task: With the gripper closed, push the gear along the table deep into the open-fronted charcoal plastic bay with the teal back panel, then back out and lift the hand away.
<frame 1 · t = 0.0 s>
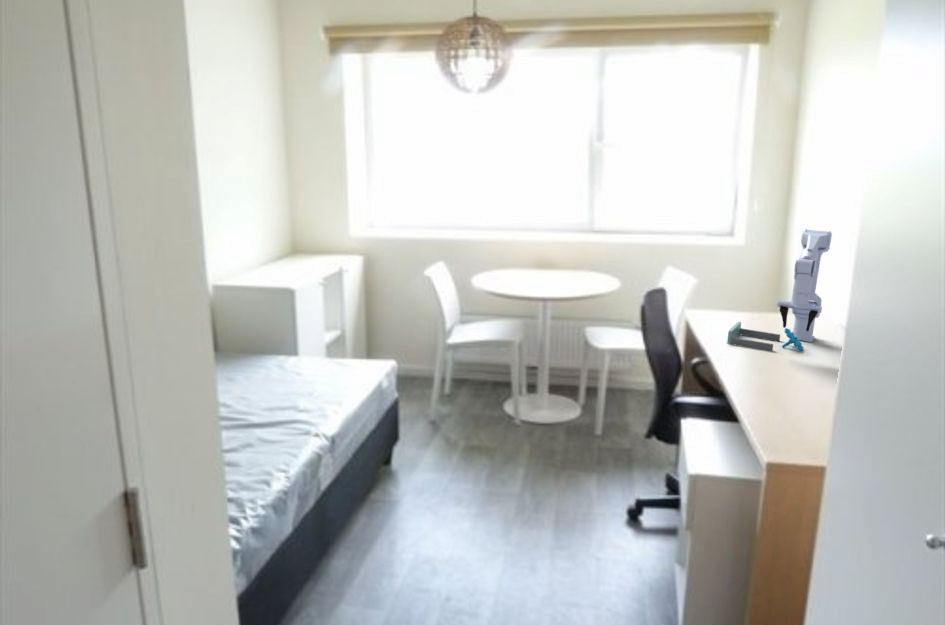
hand: (795, 328, 252), 10 cm above the table, tool pointing down, fingers open, 7 cm apart
gear: (792, 349, 263), on the table
bay: (753, 342, 270), on the table
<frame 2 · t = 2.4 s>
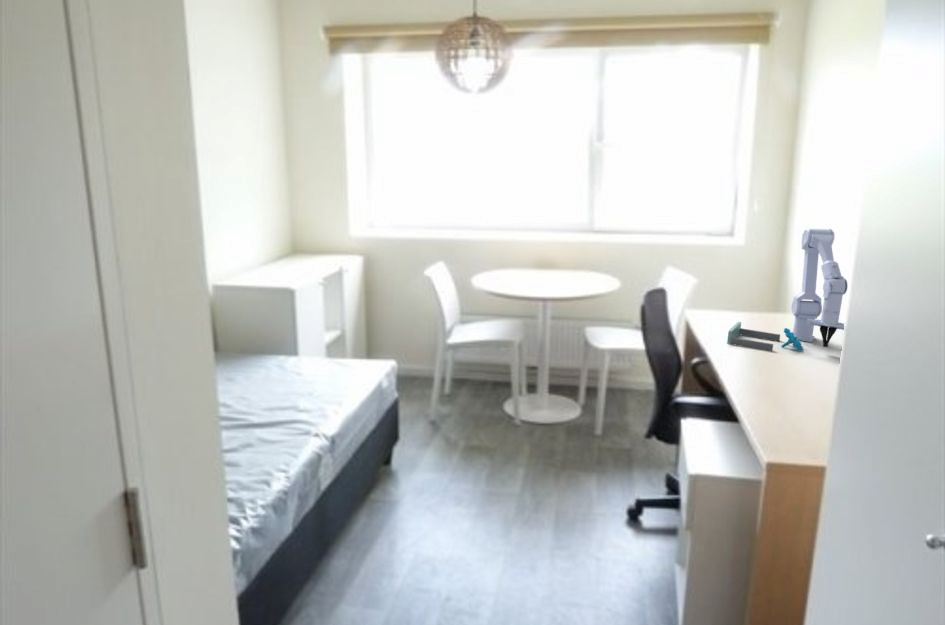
hand: (825, 346, 257), 3 cm above the table, tool pointing down, fingers closed
nothing on the table moved.
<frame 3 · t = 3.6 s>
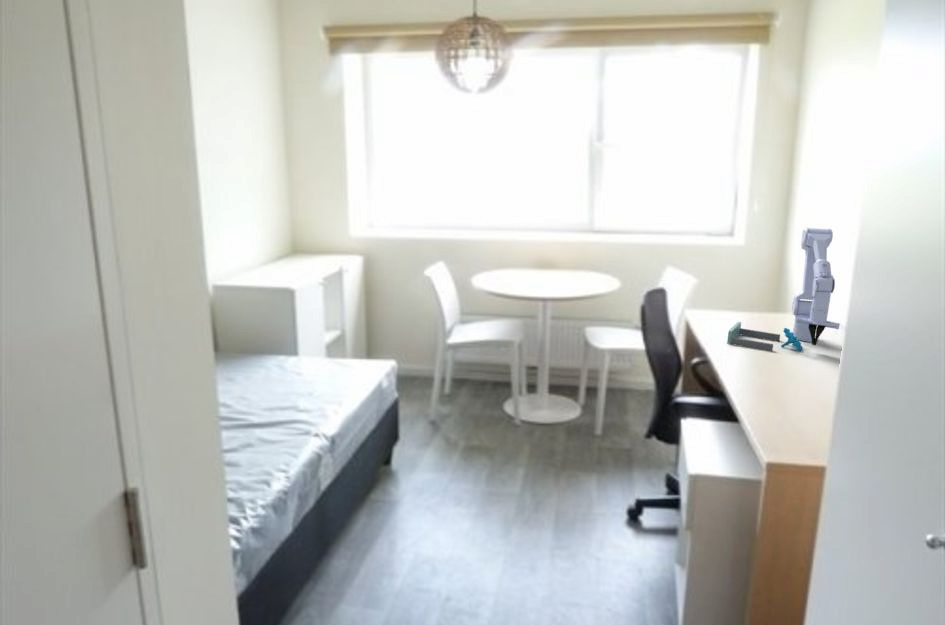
hand: (814, 344, 259), 3 cm above the table, tool pointing down, fingers closed
nothing on the table moved.
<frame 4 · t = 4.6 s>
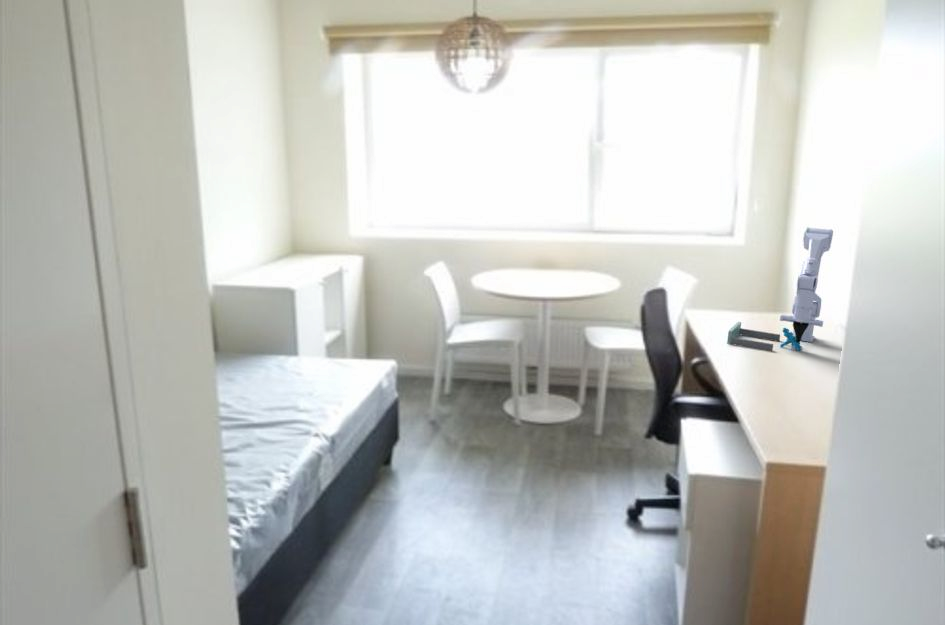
hand: (798, 341, 262), 3 cm above the table, tool pointing down, fingers closed
gear: (790, 348, 263), on the table, touching gripper
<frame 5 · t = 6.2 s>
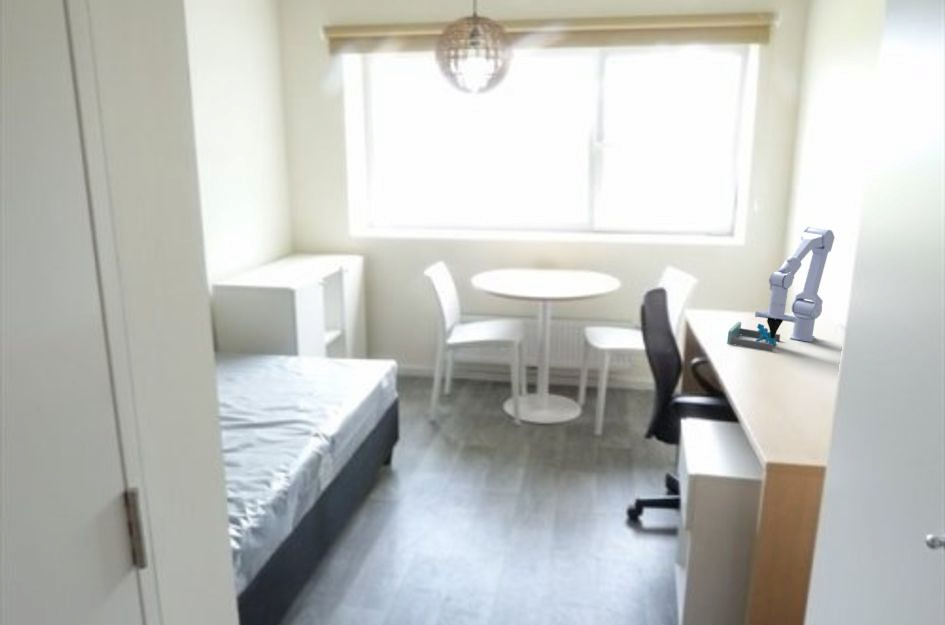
hand: (772, 337, 266), 3 cm above the table, tool pointing down, fingers closed
gear: (765, 344, 268), on the table, touching gripper
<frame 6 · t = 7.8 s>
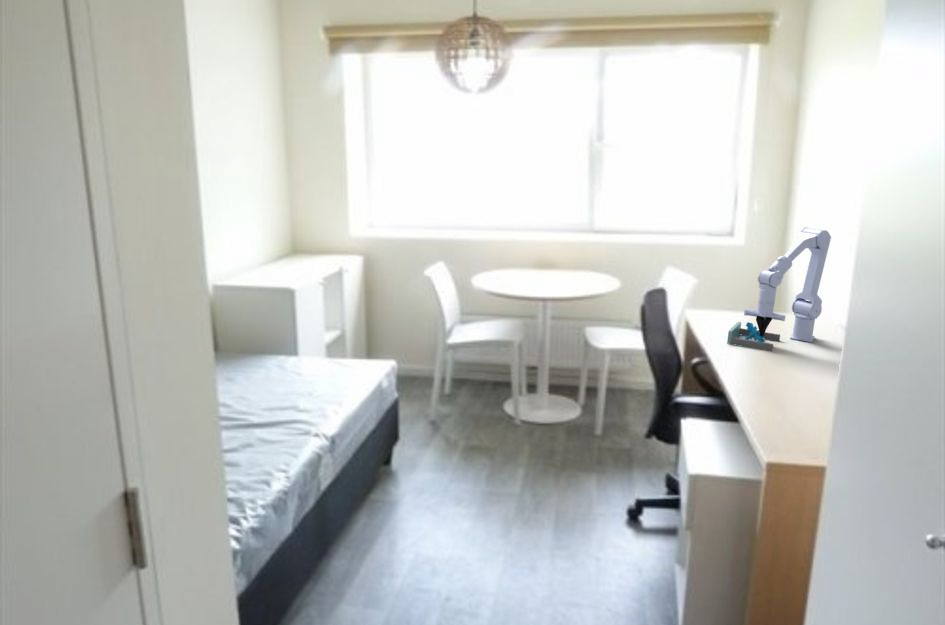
hand: (761, 335, 268), 3 cm above the table, tool pointing down, fingers closed
gear: (754, 342, 270), on the table
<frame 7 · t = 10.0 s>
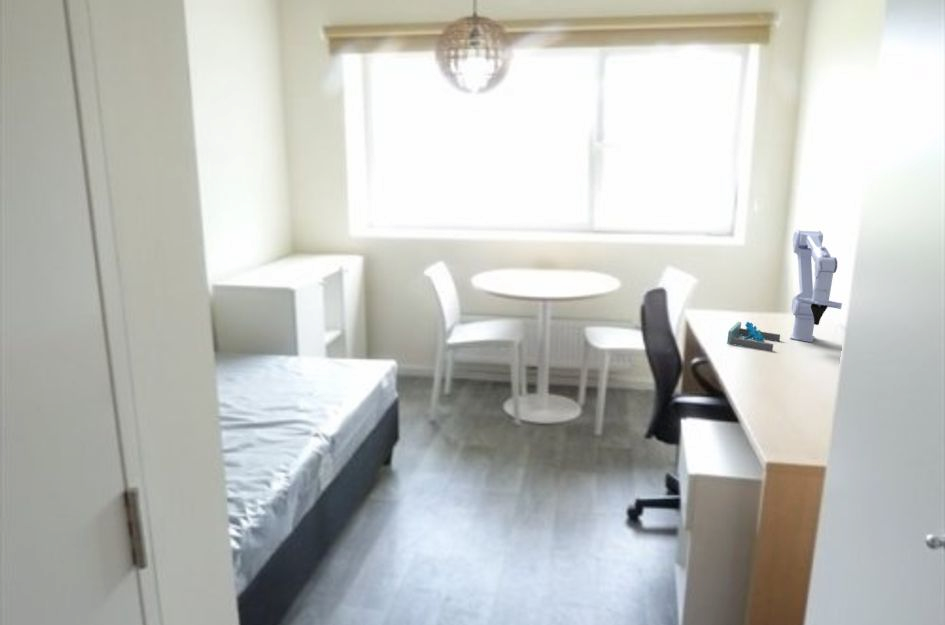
hand: (816, 324, 262), 9 cm above the table, tool pointing down, fingers closed
nothing on the table moved.
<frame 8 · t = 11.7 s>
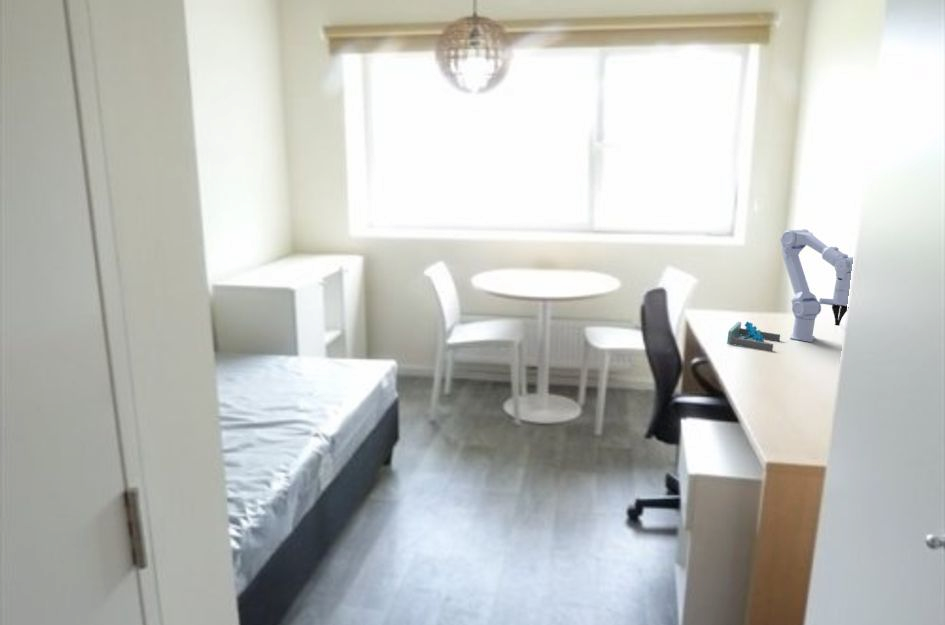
hand: (837, 324, 262), 9 cm above the table, tool pointing down, fingers closed
nothing on the table moved.
at the end: gear inside the target area on the bay (2.6 cm from its centre), point 0.0 cm above the bay's base; gear moved 14.2 cm from its start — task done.
